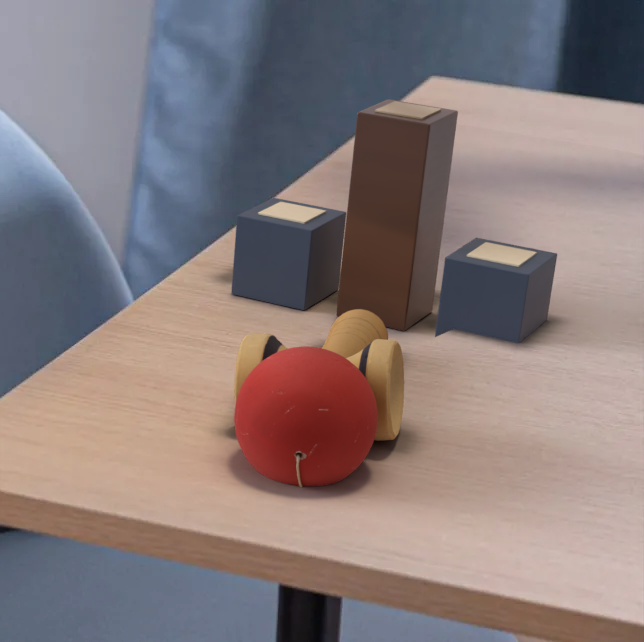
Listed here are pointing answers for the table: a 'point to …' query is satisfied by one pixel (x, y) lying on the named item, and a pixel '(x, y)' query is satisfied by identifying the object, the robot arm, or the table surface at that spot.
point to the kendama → (318, 400)
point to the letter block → (396, 211)
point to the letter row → (325, 263)
